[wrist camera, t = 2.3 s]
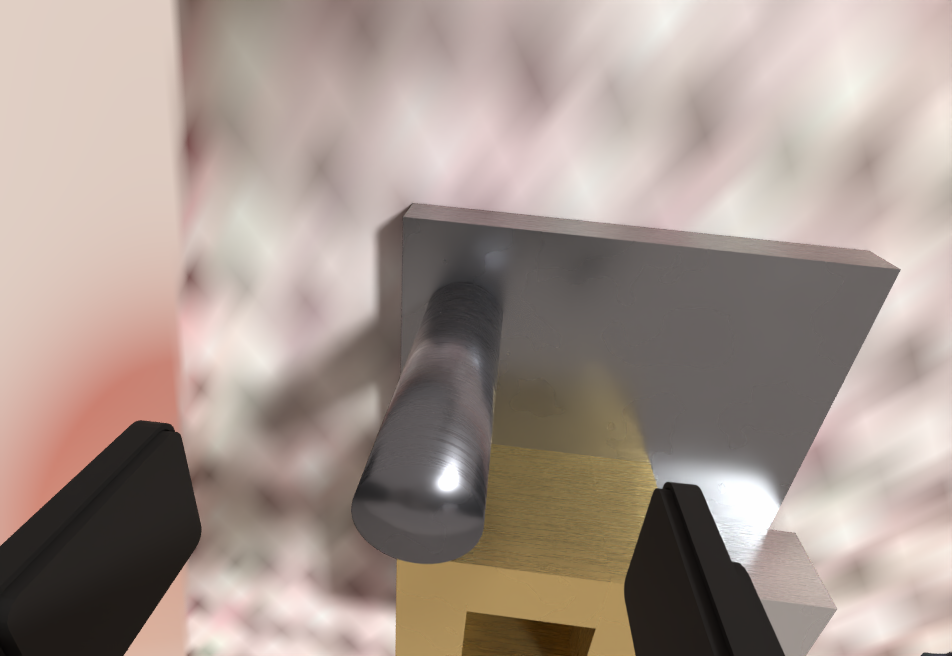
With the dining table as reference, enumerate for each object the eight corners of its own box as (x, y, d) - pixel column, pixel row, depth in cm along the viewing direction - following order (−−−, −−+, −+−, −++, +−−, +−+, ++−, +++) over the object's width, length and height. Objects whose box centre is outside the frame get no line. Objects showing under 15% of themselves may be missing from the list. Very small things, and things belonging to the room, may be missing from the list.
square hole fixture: (413, 203, 16) (351, 286, 11) (903, 254, 16) (1116, 372, 10) (404, 574, 25) (367, 731, 19) (720, 616, 24) (779, 790, 19)
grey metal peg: (428, 277, 16) (349, 460, 9) (506, 285, 16) (489, 478, 9) (425, 345, 17) (353, 555, 10) (498, 353, 17) (478, 571, 10)
